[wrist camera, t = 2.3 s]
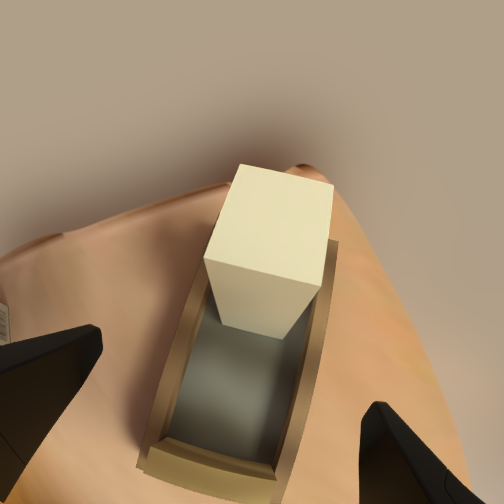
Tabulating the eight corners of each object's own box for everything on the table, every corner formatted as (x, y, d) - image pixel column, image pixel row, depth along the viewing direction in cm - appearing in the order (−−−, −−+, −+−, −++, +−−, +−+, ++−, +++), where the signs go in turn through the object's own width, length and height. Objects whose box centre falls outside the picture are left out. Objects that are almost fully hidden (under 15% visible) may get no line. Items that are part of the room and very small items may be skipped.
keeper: (282, 339, 19) (320, 286, 10) (222, 324, 20) (203, 257, 10) (296, 277, 22) (333, 185, 12) (240, 263, 22) (240, 163, 13)
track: (277, 493, 15) (286, 518, 10) (147, 457, 16) (121, 472, 11) (330, 259, 24) (348, 228, 19) (219, 232, 25) (214, 196, 20)
